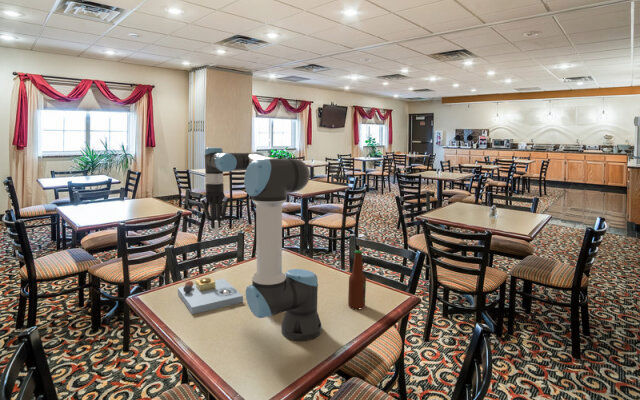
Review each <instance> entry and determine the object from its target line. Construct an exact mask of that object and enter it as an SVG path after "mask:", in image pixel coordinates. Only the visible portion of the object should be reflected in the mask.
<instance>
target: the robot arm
mask: <svg viewBox="0 0 640 400" xmlns="http://www.w3.org/2000/svg"><path fill="white" fill-rule="evenodd" d="M204 170H205V171H204V172H205V173H204V174H205V175H204V176H205V194H204V197H203V198H201V199H199V202H200V204H202V208H203V212H204V215H205V218H206V220H207V221H209V222H210V227H211V228H210V229H212V230H213V231H212V233H213V236H214V237H219V236H220V235H219V231H220V229H221V221H222V220H225V218H226V212H227V206H228V204H229V202H230V201H231V199H230V197H227V196H226V195H225V193H224V192H225V191H224V190H225V189H224V183H223V182H224V173H226V172H227V173H229V172H236V171H238V172H239V171H245V173H244V179H243V182H244V188H245V192H246V193H247V195H248V196H250V197H251V201H252V202H253V203H254V204H255V206H256V208H255V213H256V215H255V216H256V217H255V218H256V220H255V221H256V222H255V224H256V227H255V229H256V232H255V233H256V234H255V235H256V239H255V240H256V242H255V243H256V246H255V247H256V272H257V273H256V272H255V273H256V274H255V273H254V274H255V275H254V274H253V276H252V277H251V278H252V279H251V282H252V284H249V285H247V287H246V288H245V300H246V303H247V306H248V308H249V310H250V312H251V313H252V314H253V316H255V317H256V318H258V319H263V318H267V317H268V318H269V317H272V316H274V315H275V316H276V315H278V314H281V313H285V314H284V316H283V319H282V322H281V333H282V336H283V337H285V338H287V339H289V340H293V341H298V342H300V341H301V342H303V341H311V340H314V339H315V338H316V339H317V337H319V336H320V335H321V334H322V328H323V327H322V322H321V319H320V316H319V312H318V288H319V281H318V275H317V274H316V273H315V272H313V271H311V270H307V269H303V268H292V269H288V270H287V271H286V273H283V269H282V268H283V260H282V259H283V255H282V254H283V253H282V252H283V205H284V203H285V202H287V194H289V193H297V192H299V191H301V190H303V189H304V188H305V187H306V186H307V185H308V183H309V181H310V176H311V174H310V169H309V166H308V164H306V163H305V162H304V161H302V160H300V159H296V158H276V157H274V156H273V157H272V156H267V155H264V153H262V152H224V151H223V148H222V147H206V148H205V149H204ZM207 202H208V203H209V207H208V204H207ZM222 202H223V203H222ZM221 204H222V205H221ZM221 206H222V207H221ZM209 210H210V211H209Z"/></svg>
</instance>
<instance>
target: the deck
mask: <svg viewBox="0 0 640 400" xmlns="http://www.w3.org/2000/svg"><path fill="white" fill-rule="evenodd" d="M214 281H215V285H216V288H214V289H210V290H205V291H199V289H198V288H197V287H196V283H195V284H193V286H192V290H191V292H189V293H185V292H184V290H183V289H184V287H185V285H184V286H180V287H177V295H178V296H179V298H180V299H181V300H182V302H183V304H184V305H185V306H186V307H187V309H188V310H189V312H190V313H191V315H196V314H200V313H203V312H208V311H211V310H212V311H213V310H217V309H220V308H225V307H229V306H232V305H237V304H241V303H244V296H243V294H241V292H239V291H238V290H237V289H236V288H235V287H234V286H233V285H232V284H230V283H229V282H228V281H227V280H226V279H225V278H222V279H216V280H214ZM225 290H227V291H229V292H230V293H229V294H222V293H223V291H225Z"/></svg>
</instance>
